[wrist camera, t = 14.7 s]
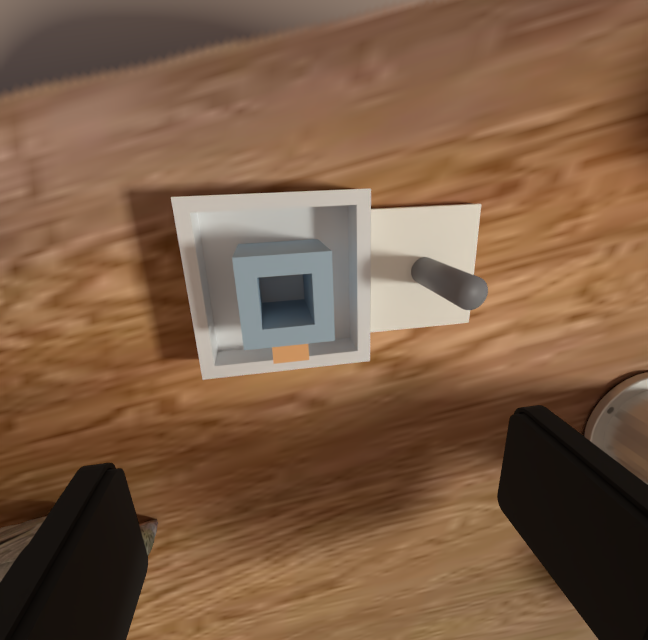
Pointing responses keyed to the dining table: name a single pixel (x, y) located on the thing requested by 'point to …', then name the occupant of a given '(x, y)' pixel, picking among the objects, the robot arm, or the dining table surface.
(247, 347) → the collar
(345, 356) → the tray
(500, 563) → the dining table surface
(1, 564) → the decorative bird
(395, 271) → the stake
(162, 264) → the dining table surface
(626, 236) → the dining table surface
